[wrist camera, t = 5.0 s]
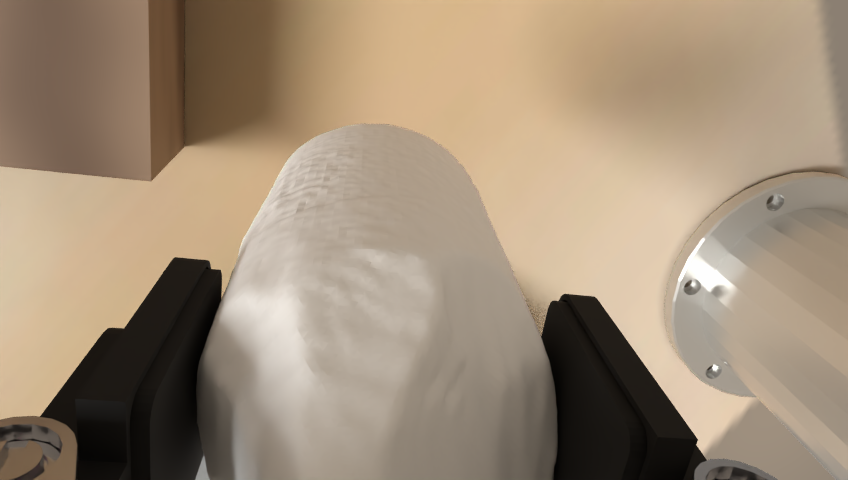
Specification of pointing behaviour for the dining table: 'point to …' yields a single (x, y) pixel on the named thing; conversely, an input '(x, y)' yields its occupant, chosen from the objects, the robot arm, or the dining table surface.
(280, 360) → the white rounded piece
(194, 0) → the dining table surface
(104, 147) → the well block
